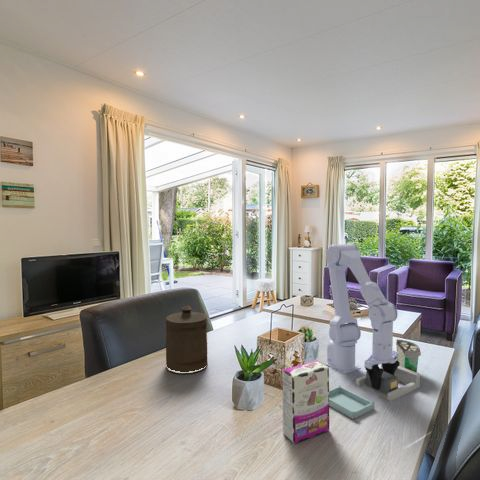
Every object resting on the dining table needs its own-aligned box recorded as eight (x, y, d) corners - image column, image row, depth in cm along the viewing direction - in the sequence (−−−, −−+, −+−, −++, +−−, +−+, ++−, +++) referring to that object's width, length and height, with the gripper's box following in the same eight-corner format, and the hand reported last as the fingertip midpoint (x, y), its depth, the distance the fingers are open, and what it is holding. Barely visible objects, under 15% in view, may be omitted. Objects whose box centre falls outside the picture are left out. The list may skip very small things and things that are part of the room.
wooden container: (212, 359, 131) (211, 302, 130) (200, 376, 117) (199, 312, 116) (175, 356, 134) (174, 300, 133) (159, 373, 119) (158, 310, 118)
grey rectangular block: (366, 384, 109) (366, 371, 109) (375, 381, 112) (375, 367, 111) (389, 395, 102) (389, 380, 102) (398, 391, 105) (398, 377, 105)
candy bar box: (316, 421, 90) (317, 359, 89) (330, 431, 86) (330, 366, 85) (281, 433, 85) (281, 368, 84) (293, 445, 81) (293, 376, 80)
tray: (319, 399, 101) (319, 393, 101) (339, 391, 105) (339, 385, 105) (353, 419, 91) (353, 412, 90) (374, 409, 95) (374, 403, 95)
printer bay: (355, 385, 110) (356, 371, 109) (384, 373, 118) (384, 360, 118) (390, 401, 99) (391, 386, 99) (419, 387, 108) (420, 373, 107)
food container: (425, 383, 110) (426, 353, 110) (404, 381, 112) (405, 351, 111) (414, 367, 122) (414, 339, 122) (395, 366, 124) (396, 338, 123)
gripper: (379, 351, 99) (378, 397, 100) (408, 341, 107) (407, 384, 108) (358, 344, 105) (358, 387, 106) (387, 335, 113) (387, 376, 113)
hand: (381, 385), depth 107 cm, fingers open, 6 cm apart
